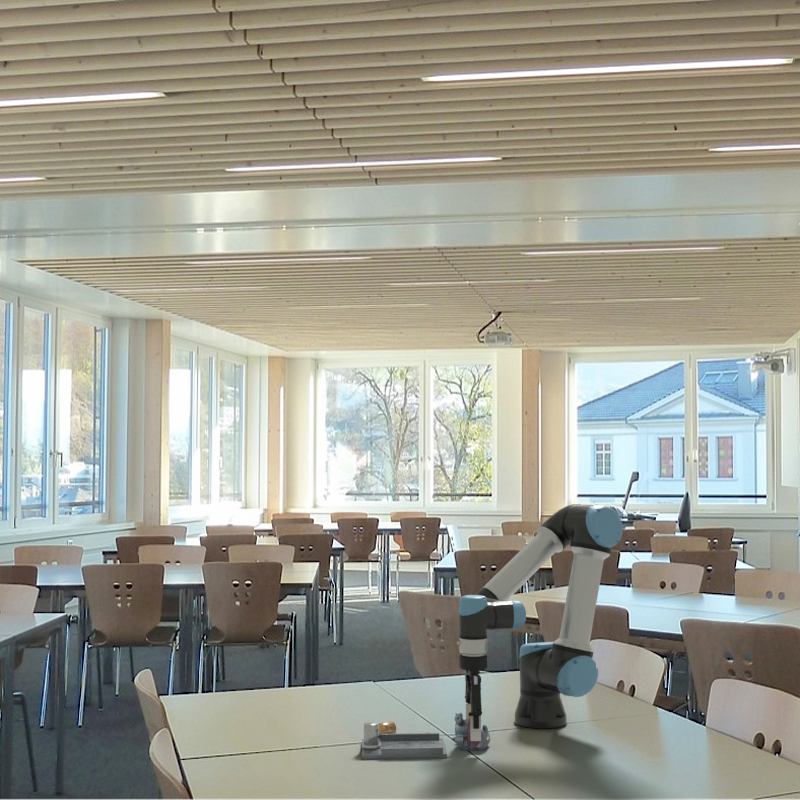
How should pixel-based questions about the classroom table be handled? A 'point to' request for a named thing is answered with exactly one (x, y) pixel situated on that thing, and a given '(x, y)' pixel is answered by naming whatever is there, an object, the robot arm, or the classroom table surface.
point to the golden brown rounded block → (387, 728)
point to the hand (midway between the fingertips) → (473, 734)
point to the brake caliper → (464, 735)
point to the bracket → (400, 744)
